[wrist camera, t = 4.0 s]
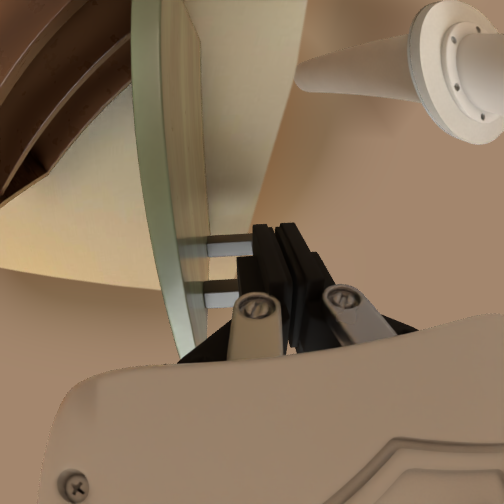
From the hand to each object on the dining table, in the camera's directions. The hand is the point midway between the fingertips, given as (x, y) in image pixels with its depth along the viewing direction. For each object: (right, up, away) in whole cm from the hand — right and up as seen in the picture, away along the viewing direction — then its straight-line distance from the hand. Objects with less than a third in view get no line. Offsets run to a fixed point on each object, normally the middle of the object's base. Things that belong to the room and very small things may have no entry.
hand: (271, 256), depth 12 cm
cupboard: (-18, +18, +7) cm, 27 cm away
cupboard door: (-3, +10, +13) cm, 17 cm away
